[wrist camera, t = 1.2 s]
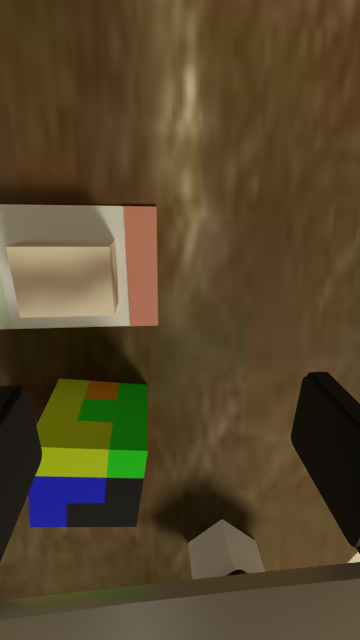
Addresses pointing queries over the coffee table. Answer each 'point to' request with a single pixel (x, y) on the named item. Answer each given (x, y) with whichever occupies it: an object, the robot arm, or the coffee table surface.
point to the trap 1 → (142, 264)
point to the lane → (61, 224)
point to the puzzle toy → (91, 455)
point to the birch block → (64, 277)
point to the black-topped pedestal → (223, 552)
